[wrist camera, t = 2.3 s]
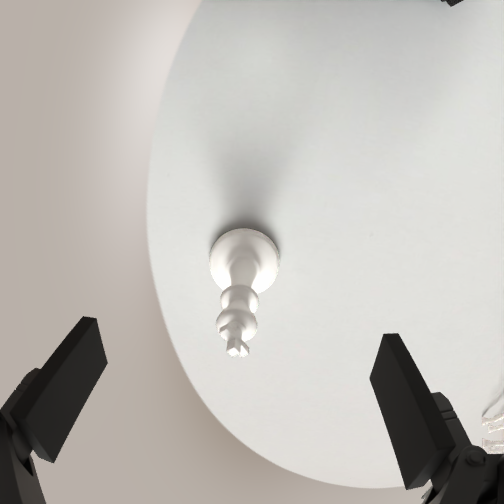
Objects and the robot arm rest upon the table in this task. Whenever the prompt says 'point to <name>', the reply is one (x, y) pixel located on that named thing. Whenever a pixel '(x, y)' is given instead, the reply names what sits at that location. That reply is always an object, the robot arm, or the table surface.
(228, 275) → the chess piece
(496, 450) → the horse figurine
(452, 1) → the camera
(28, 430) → the robot arm
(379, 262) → the table surface
